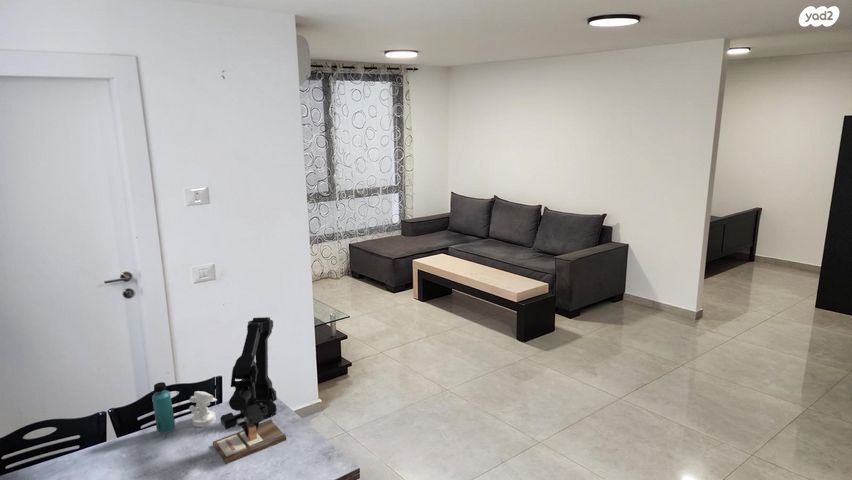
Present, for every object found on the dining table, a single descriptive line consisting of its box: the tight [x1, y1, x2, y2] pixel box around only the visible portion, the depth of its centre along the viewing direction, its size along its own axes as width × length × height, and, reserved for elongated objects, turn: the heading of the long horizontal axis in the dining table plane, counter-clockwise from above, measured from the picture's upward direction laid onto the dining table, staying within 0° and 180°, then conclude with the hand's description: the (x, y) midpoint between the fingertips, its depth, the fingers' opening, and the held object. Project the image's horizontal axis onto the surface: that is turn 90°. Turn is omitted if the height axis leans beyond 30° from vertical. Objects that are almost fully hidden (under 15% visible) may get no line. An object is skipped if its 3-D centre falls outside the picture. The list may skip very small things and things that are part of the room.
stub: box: [240, 420, 263, 447], centre depth 194 cm, size 10×5×6 cm, turn 38°
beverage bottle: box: [151, 381, 176, 434], centre depth 200 cm, size 6×7×20 cm
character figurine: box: [188, 390, 218, 428], centre depth 208 cm, size 9×10×12 cm
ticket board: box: [212, 419, 287, 465], centre depth 194 cm, size 14×22×2 cm, turn 128°
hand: (251, 434), depth 194 cm, fingers closed on stub, 2 cm apart
